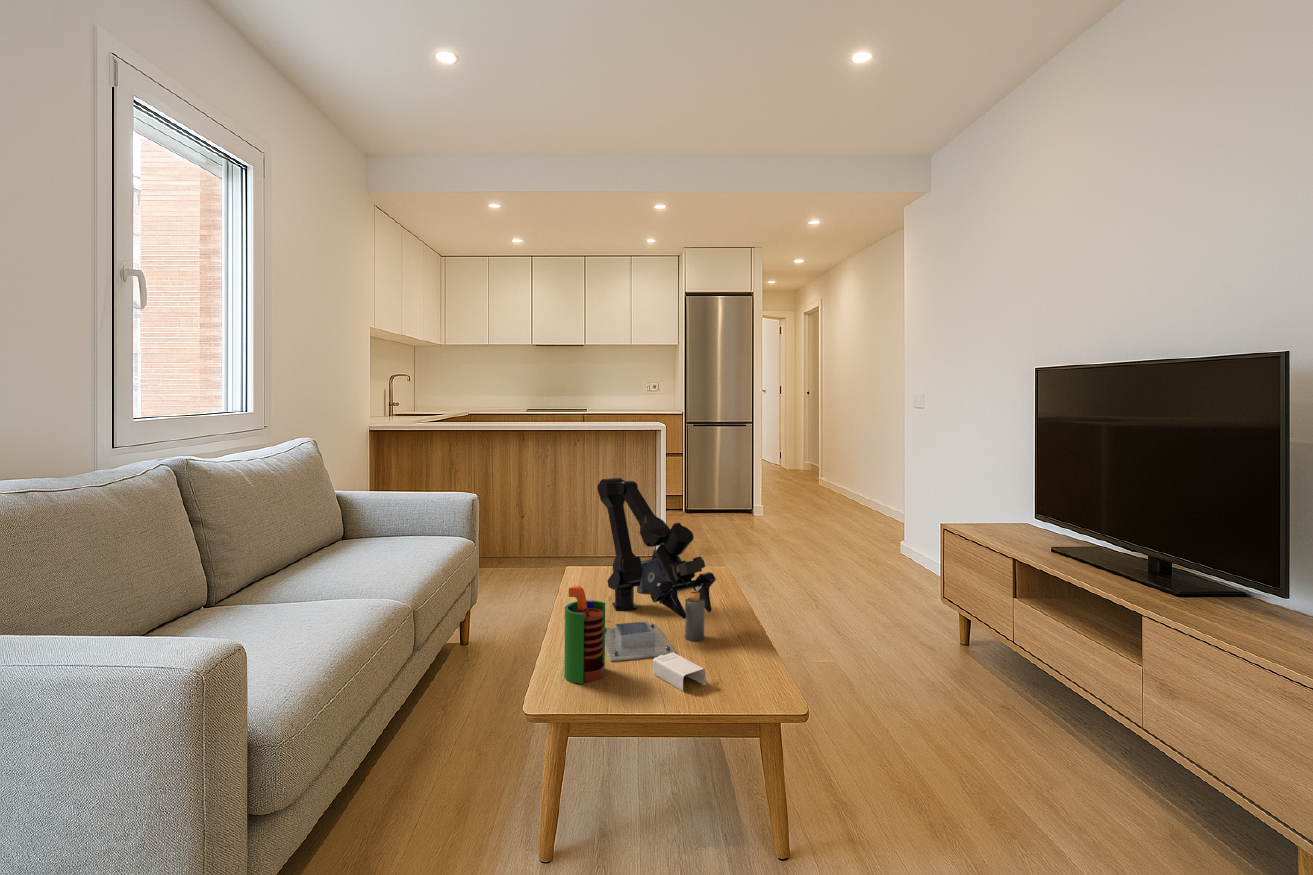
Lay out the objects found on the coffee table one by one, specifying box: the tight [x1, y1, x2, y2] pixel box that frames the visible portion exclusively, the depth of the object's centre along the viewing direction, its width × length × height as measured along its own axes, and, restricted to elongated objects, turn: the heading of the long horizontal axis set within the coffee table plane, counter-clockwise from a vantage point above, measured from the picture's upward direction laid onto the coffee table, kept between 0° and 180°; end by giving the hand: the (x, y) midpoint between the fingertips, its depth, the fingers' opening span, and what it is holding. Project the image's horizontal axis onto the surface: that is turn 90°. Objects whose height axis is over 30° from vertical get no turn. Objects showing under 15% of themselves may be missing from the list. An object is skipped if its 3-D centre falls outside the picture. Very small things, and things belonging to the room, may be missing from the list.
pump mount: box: [605, 621, 676, 662], centre depth 169 cm, size 20×16×4 cm
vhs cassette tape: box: [636, 558, 668, 595], centre depth 219 cm, size 18×3×10 cm, turn 136°
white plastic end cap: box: [652, 652, 707, 693], centre depth 147 cm, size 6×13×4 cm, turn 36°
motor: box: [563, 585, 606, 685], centre depth 149 cm, size 10×9×20 cm
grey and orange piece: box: [684, 591, 705, 643], centre depth 172 cm, size 5×5×12 cm
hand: (698, 614), depth 171 cm, fingers open, 8 cm apart
